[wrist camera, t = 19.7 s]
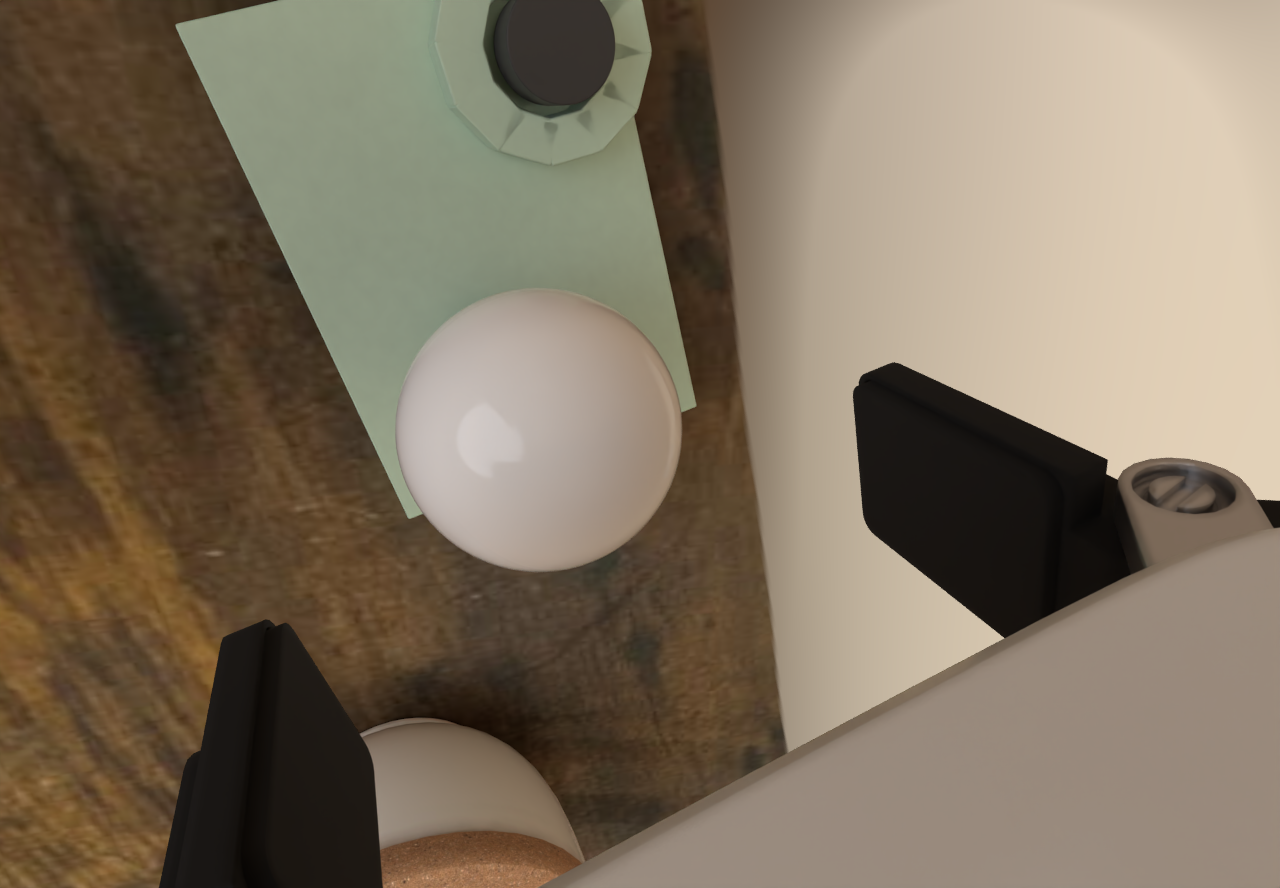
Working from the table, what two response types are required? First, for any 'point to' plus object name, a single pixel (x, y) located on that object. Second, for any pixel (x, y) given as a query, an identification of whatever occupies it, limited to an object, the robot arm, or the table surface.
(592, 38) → the tare button
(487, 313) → the lightbulb
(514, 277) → the green dial base
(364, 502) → the table surface
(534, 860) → the lidded bowl
